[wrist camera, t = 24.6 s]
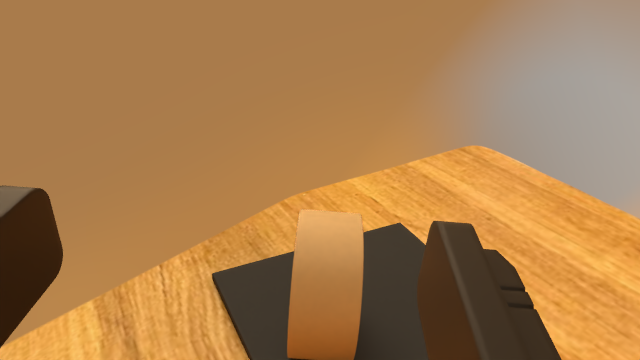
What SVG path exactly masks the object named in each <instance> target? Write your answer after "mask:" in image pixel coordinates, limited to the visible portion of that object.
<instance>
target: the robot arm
mask: <svg viewBox="0 0 640 360" xmlns="http://www.w3.org/2000/svg"><path fill="white" fill-rule="evenodd" d="M62 258H63V249H62V245H61V241H60V237H59V234H58V230H57V225H56V221H55V218H54V214H53V210H52V206H51V202H50V199H49V196H48V194H47V193H46V192H45V191H44V190H43V189H40V188H28V187H15V186H0V348H1V346H2V345H3V344H4V342H5V341H6V340H7V339H8V337H9V336H10V335H11V334H12V332H13V331H14V330H15V329H16V327H17V326H18V325H19V324H20V322H21V321H22V320H23V318H24V317H25V316H26V315H27V313H28V312H29V311H30V309H31V308H32V307H33V306H34V305H35V303H36V302H37V301H38V300H39V298H40V297H41V296H42V294H43V293H44V292H45V291H46V289H47V288H48V287H49V286H50V284H51V283H52V282H53V281H54V279H55V278H56V276H57V275H58V273H59V271H60V268H61V264H62ZM417 304H418V310H419V315H420V320H421V325H422V330H423V335H424V339H425V344H426V349H427V354H428V359H429V360H561V358H560V356H559V354H558V352H557V350H556V348H555V346H554V344H553V342H552V340H551V338H550V336H549V334H548V332H547V330H546V328H545V326H544V324H543V322H542V320H541V318H540V316H539V314H538V312H537V310H536V309H534V304H533V302H532V300H531V298H530V296H529V295H528V293H527V292H525V287H524V285H523V283H522V281H521V279H520V277H519V275H518V273H517V271H516V269H515V267H514V266H512V265H511V264H510V263H509V262H508V261H507V260H506V259H505V258H504V257H503V256H502V255H501V254H500V253H499V252H498V251H497V250H489V249H483V248H482V245H481V243H480V241H479V238H478V236H477V234H476V232H475V229H474V227H473V226H472V225H471V224H469V223H456V222H444V221H433V223H432V224H431V227H430V230H429V234H428V239H427V243H426V247H425V252H424V256H423V260H422V264H421V269H420V273H419V278H418V285H417Z"/></svg>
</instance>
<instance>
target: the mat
mask: <svg viewBox="0 0 640 360" xmlns="http://www.w3.org/2000/svg"><path fill="white" fill-rule="evenodd" d="M363 238H364V262H363V287H362V303H361V315H360V325H359V334H358V341H357V347H356V352H355V356H354V359H353V360H429V359H428V354H427V349H426V344H425V339H424V335H423V330H422V325H421V320H420V315H419V310H418V304H417V285H418V278H419V273H420V269H421V264H422V260H423V256H424V252H425V247H426V245H425V244H424V243H422V242H421V241H420V240H419V239H418V238H417V237H416V236H415V235H413V234H412V233H411V232H410V231H409V230H408V229H407V228H406V227H404V226H403V225H402V224H401V223H397V224H393V225H389V226H386V227H382V228H378V229H375V230H371V231H367V232H363ZM293 259H294V251H293V252H290V253H286V254H282V255H278V256H275V257H271V258H267V259H264V260H260V261H256V262H253V263H249V264H245V265H242V266H238V267H234V268H230V269H227V270H223V271H219V272H216V273H213V274H212V278H213V281H214V283H215V285H216V287H217V289H218V291H219V294H220V296H221V298H222V300H223V302H224V304H225V306H226V309H227V311H228V313H229V315H230V317H231V319H232V322H233V324H234V326H235V328H236V330H237V332H238V335H239V337H240V339H241V341H242V343H243V345H244V348H245V350H246V352H247V354H248V356H249V358H250V360H309V359H296V358H288V356H287V339H288V320H289V305H290V292H291V281H292V269H293Z"/></svg>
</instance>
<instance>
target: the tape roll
mask: <svg viewBox="0 0 640 360" xmlns="http://www.w3.org/2000/svg"><path fill="white" fill-rule="evenodd" d="M363 262H364V238H363V222H362V217H361V214H359V213H346V212H333V211H320V210H307V209H301V210H300V212H299V218H298V224H297V232H296V240H295V249H294V259H293V269H292V281H291V292H290V305H289V320H288V339H287V356H288V358H296V359H309V360H353V359H354V356H355V352H356V347H357V341H358V334H359V325H360V315H361V303H362V287H363Z"/></svg>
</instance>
